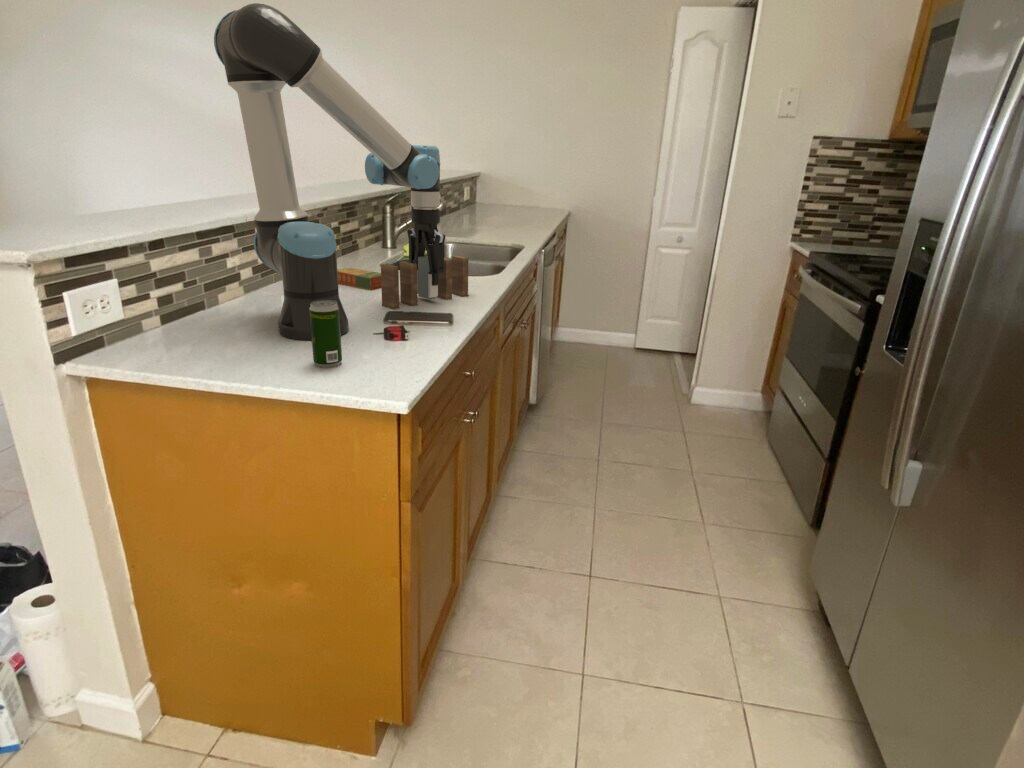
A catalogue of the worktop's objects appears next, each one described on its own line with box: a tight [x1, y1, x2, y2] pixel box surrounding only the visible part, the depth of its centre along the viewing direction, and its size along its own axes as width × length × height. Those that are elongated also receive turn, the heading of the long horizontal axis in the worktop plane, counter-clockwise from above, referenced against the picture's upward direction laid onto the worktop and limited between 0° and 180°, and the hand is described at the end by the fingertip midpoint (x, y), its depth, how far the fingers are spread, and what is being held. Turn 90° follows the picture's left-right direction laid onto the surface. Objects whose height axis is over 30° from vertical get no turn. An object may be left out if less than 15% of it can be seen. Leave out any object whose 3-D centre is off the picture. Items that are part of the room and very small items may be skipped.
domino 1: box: [380, 263, 400, 310], centre depth 163 cm, size 2×5×11 cm, turn 45°
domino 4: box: [437, 257, 453, 301], centre depth 175 cm, size 2×5×11 cm, turn 45°
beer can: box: [309, 300, 343, 369], centre depth 119 cm, size 5×5×12 cm
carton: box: [337, 267, 382, 291], centre depth 188 cm, size 8×16×4 cm, turn 58°
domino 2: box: [399, 260, 419, 307], centre depth 167 cm, size 2×5×11 cm, turn 45°
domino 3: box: [418, 255, 436, 301], centre depth 170 cm, size 2×5×11 cm, turn 45°
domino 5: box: [451, 255, 469, 298], centre depth 179 cm, size 2×5×11 cm, turn 45°
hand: (426, 294), depth 172 cm, fingers closed on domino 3, 5 cm apart
